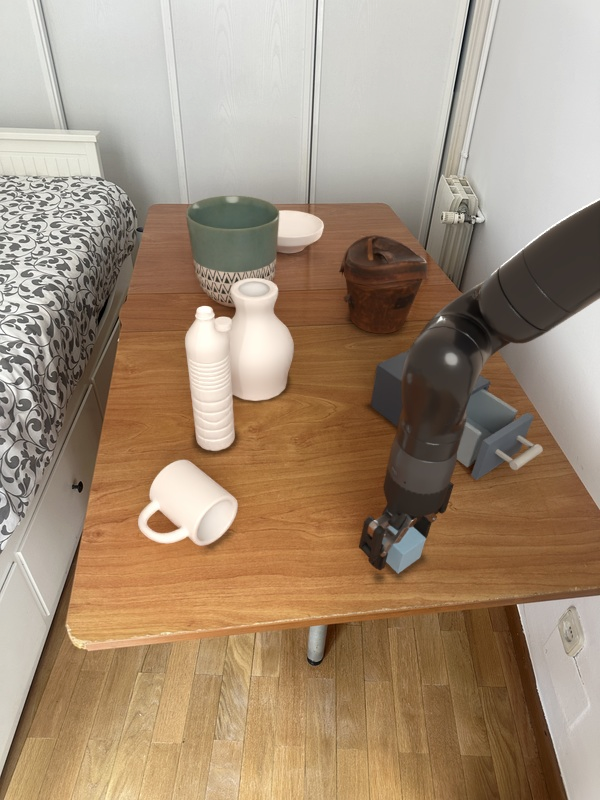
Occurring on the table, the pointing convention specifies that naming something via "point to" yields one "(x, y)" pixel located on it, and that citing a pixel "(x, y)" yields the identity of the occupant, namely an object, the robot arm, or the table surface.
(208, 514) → the mug
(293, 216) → the bowl
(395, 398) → the cabinet
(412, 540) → the block
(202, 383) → the water bottle
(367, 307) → the case
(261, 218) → the planter
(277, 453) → the table surface
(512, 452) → the drawer
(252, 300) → the vase
